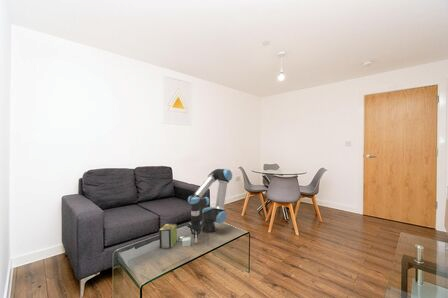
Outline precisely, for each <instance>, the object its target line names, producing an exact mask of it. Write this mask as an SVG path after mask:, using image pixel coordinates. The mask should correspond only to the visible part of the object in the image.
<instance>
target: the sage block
mask: <svg viewBox="0 0 448 298" xmlns="http://www.w3.org/2000/svg"><path fill="white" fill-rule="evenodd" d="M191 240H192V238H191V236H188V237H186V236H185V238H183V239H182V242H181V245H182V247H183V248H184V247H191V243H192V242H191Z"/></svg>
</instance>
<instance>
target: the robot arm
mask: <svg viewBox="0 0 448 298" xmlns="http://www.w3.org/2000/svg"><path fill="white" fill-rule="evenodd" d="M232 179H233V172H232V171H231V169H228V168H215V169H214V170H213V171H211V172H210V173H209V174H208V175H207V178H206V179H205V181H203V183H202V184H201V185H200V187H198V189H197V190H196V191H195V192H194V193H193V195H189V196H188V197H187V202H188V204H190V215H191V216H190V217H191V218H190V219H191V221H190V222H189V223H188V227H189V228H190V232H191V234H192V235H193V239H194V241H195V244H196V243H198V239H199V235H200V234H201V232H202V233H204V232H211V233H213V232H212V231H214V230H215V229H216V230H217V228H216V225H215V223H217V224H223V223H224V222H225V221H226V219H227V212H226V210H225V203H226V202H225V201H226V193H227V188H228V184H229V183H230V181H231V180H232ZM216 181H217V182H218V187H217V188H218V189H217V193H216V200H215V206H214V207H213V206H209V207H205V206H208V205H209V204H210V199H209V197H207V196H205V197H203V195H204V194H205V193H206V192H207V191H208V189H209V188H210V187H211V186H212V185H213V183H215V182H216ZM202 207H203V209H202V210H201V209H200V208H202ZM200 210H201V211H200ZM200 213H201V215H202V216H201V215H200ZM201 217H202V221H201ZM192 226H193V227H192ZM216 230H215V231H216ZM215 231H214V232H215Z"/></svg>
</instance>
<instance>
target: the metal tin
mask: <svg viewBox="0 0 448 298" xmlns="http://www.w3.org/2000/svg"><path fill="white" fill-rule="evenodd" d="M183 238H186V235H184V234H180V235H177V242H178V243H182V239H183Z"/></svg>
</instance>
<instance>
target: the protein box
mask: <svg viewBox="0 0 448 298" xmlns="http://www.w3.org/2000/svg"><path fill="white" fill-rule="evenodd" d="M177 226H178V225H177V223H165V224H164V225H163V226H162V227H160V229H159V230H158V231H159V233H158V234H159V249H172V248H173V246H174V245H175V244H176V242H178V234H177V233H178V229H177Z"/></svg>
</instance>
